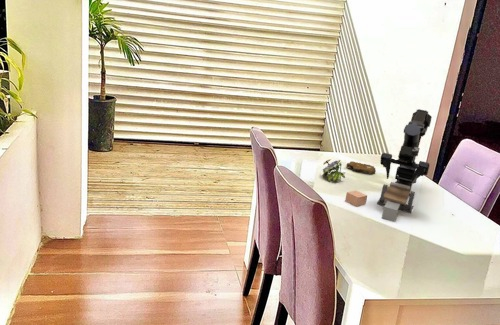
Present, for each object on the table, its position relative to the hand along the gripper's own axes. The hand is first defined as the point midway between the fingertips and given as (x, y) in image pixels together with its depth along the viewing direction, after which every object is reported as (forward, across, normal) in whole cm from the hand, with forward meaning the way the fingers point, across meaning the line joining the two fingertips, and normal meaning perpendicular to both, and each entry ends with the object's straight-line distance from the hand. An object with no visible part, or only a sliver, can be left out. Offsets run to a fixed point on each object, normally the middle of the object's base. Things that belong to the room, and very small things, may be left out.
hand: (399, 181), depth 185 cm
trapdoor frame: (+4, 0, +16) cm, 16 cm away
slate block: (+9, 0, +7) cm, 11 cm away
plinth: (+10, -15, +10) cm, 20 cm away
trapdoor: (+2, 0, +10) cm, 10 cm away
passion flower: (-7, -32, +27) cm, 42 cm away
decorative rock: (-25, -24, +45) cm, 57 cm away
